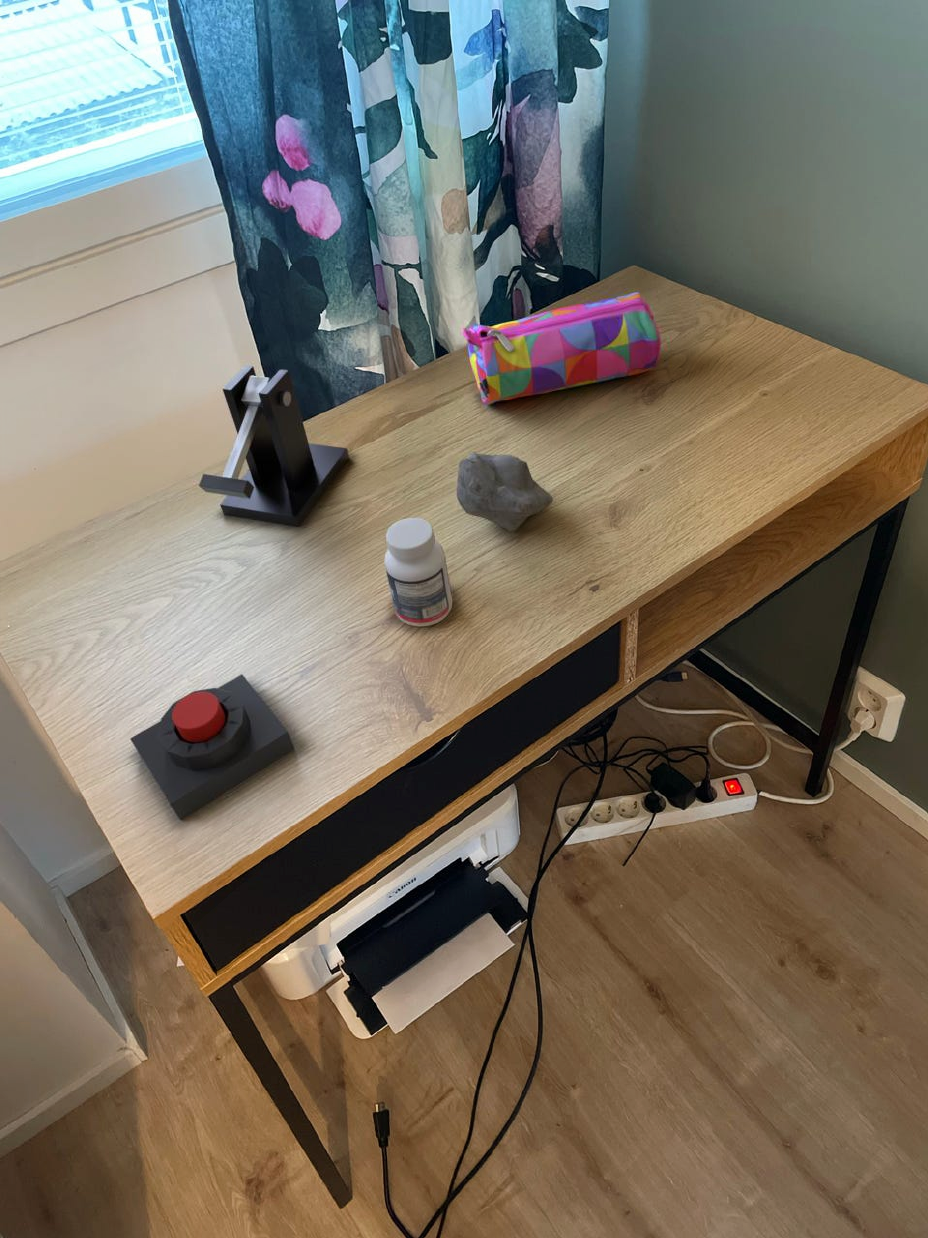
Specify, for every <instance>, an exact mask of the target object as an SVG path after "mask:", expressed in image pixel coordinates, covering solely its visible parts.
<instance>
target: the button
mask: <svg viewBox="0 0 928 1238" xmlns="http://www.w3.org/2000/svg"><path fill="white" fill-rule="evenodd" d="M191 693H192V692H191ZM189 694H190V693H189ZM187 695H188V694H187ZM185 696H186V695H185ZM185 696H183V697H184V698H183V697H182V698H183V699H181V698H180V699H181V700H180V701H179V702H178V703H177V704H176V706H175V707H174V709H173V713H172V720H173V722H174V724H175V726H176V728H177V729H178V731H179V733H180V735H181V736H182V738H184V739H185V740H187V741H189V742H203V741H207V740H209V739H211V738H213V737H214V736H216V735H217V734H218V733H219V732H220V731H221V729H222V728H223V726H224V724H225V714H224V711H223V709H222V707H221V705H220V703H219V701H218V699H217V698H216V697H215V696H214V695H213V694H211V693H208V692H196V693H192V694H190V695H188V696H186V697H185Z"/></svg>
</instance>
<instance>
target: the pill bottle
mask: <svg viewBox="0 0 928 1238" xmlns="http://www.w3.org/2000/svg"><path fill="white" fill-rule="evenodd" d="M385 539H386V540H385V541H386V545H387V550H386V552H385V555H384V569H385V573H386V577H387V581H388V587H389V590H390V594H391V600H392V603H393V604H392V605H393V608H394V612H395V614H396V616H397V617H398V619H399V620H400V621H401V622H402V623H405V624H406V625H409V626H413V627H429V626H433V625H435V624H438V623H440V622H441V621H443V620H444V619H445V618H446V617H447V616H448V615H449V614H450V612H451V610H452V608H453V594H452V593H453V592H452V587H451V583H450V578H449V571H448V565H447V559H446V554H445V549H444V547H443V546H442V544H441V543H440V542H439V541H438V540H437V539H436V536H435V531H434V528H433V526H432V524H431V523H430V521H427V520H425V519H423V518H420V517H406V518H403V519H399V520H397V521H395V522H394V523H393V524H392V525H390V526H389V528H388V529H387V531H386V534H385Z"/></svg>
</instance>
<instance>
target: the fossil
mask: <svg viewBox="0 0 928 1238" xmlns="http://www.w3.org/2000/svg"><path fill="white" fill-rule="evenodd" d="M458 463H459V464H458V473H457V482H456V498H457V500H458V503H459V505H460V506H461V508H462V510H463V511H464V512H465V514H467V515H470V516H473V517H478V518H482V519H485V520H488V521H489V522H492V523H494V524H496V525H497V526H499V527H501V528H503V529H505V530H506V531H507V532H515V531H517V530H518V529H519V528H520V526H521V525H522V524H523V523H524V522H525V521H526V519H528V517H529V516H532V515H535V514H537V513H539V512H541V511H543V510H545V509H546V508H547V507H549V506H550V505H552V503H553V501H554V497H553V496H552V495H551V494H550V493H549V492H548V491H547V490H546V489H545V488H543V487H542V486H541V485H539V484H538V483H537V481H535V480H534V479H533V477H532V474H531V471H530V468H529V466H528V462H527V461H524V460H522V459H521V458H519V457H517V456H514V455H512V454H485V453H477V452H475V451H473V452H471V453H470V454H469V455H468V457H465V458H463V459H461V461H460V462H458Z"/></svg>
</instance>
